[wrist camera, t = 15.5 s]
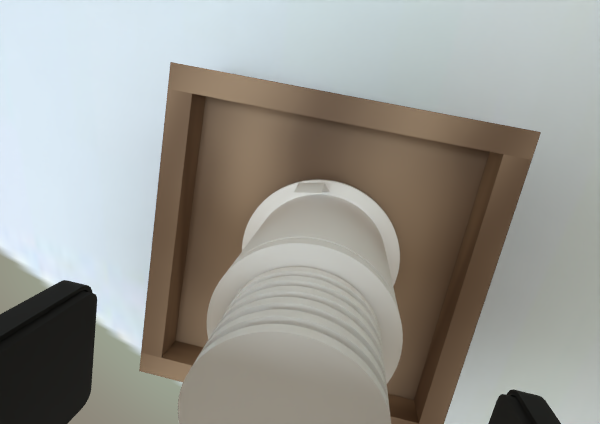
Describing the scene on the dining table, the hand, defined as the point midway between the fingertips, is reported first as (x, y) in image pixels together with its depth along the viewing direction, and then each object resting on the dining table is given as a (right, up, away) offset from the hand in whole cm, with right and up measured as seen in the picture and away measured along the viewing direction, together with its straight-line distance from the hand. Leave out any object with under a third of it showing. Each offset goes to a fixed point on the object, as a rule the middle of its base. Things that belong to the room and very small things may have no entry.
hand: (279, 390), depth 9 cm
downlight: (+1, +2, +9) cm, 9 cm away
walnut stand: (+2, +3, +13) cm, 13 cm away
